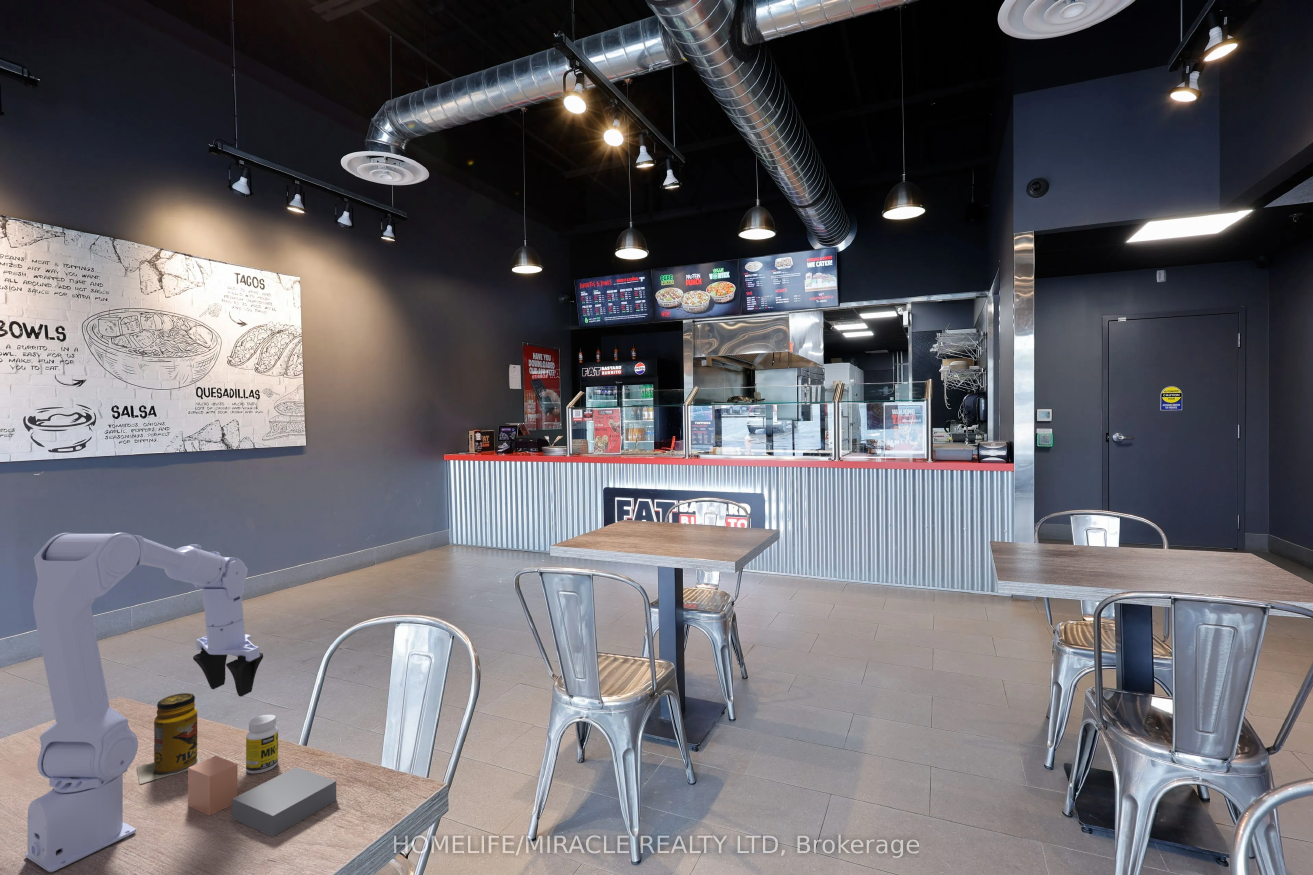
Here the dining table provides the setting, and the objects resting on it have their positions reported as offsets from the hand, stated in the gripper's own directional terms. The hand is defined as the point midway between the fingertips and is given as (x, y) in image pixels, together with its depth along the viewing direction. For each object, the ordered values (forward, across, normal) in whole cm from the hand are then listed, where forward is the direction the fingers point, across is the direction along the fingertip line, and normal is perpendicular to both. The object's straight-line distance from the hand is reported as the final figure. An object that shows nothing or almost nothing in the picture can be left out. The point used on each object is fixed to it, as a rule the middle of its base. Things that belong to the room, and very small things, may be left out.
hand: (231, 690), depth 113 cm
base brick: (+8, -28, +11) cm, 31 cm away
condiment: (+10, +3, +10) cm, 14 cm away
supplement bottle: (+10, -13, +4) cm, 17 cm away
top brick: (+9, -16, +14) cm, 23 cm away
